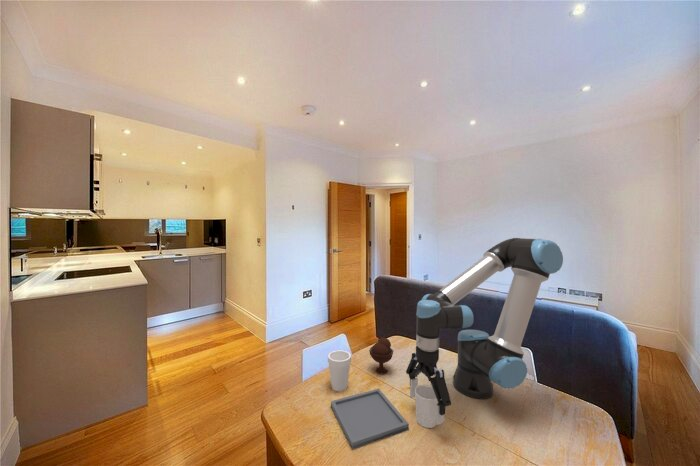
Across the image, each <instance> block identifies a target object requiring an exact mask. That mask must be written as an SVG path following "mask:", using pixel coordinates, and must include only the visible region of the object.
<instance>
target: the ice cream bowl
mask: <svg viewBox="0 0 700 466" xmlns="http://www.w3.org/2000/svg"><path fill="white" fill-rule="evenodd" d="M391 346H392V344H391V341H390V340H389V339H388V338H386V337H381V338H379V339H378V341H377V342H376V343H375V344H373V345H372V346H371V347H370V348H369V350H368V351H369V354H370V355H369V356H370V357H371V358H372V359H373V360H374V362H376V363H378V364H379V366H378V367H376V368H375V370H374V371H375V373H377V374H379V375H385V374H387V373H388V369H387V368H386V367H384V364H385V363H389V362H390V361H391V359H392V357H393V354H394V350H393V349H392V348H391Z"/></svg>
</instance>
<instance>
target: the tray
mask: <svg viewBox="0 0 700 466" xmlns="http://www.w3.org/2000/svg"><path fill="white" fill-rule="evenodd" d="M330 408H331V409H332V412H333V413H334V416H335V418H336V419H337V422H338V423H339V426H340V427H341V430H342V432H343V434H344V436H345V438H346V440H347V442H348V444H349V446H350V448H351V450H355V449H358V448H360V447H363V446H367V445H369V444H372V443H375V442H378V441H380V440H383V439H386V438H388V437H392V436H395V435H397V434H401V433H403V432H406V431H409V428H410V426H409V425H410V424H409V422H408V421H407V420H406V418H405V417H404V416H403V415H402V414H401V413H400V412H399V410H397V408H396V407H395V406H394V405H393V404H392V402H391V401H390V399H388V397H387V396H386V395H385V394H384V393H383V391H382V390H381V389H380V388H375V389H372V390H368V391H365V392H361V393H356V394H354V395H350V396H345V397H341V398H338V399H334V400H331V401H330Z"/></svg>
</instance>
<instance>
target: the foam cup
mask: <svg viewBox="0 0 700 466" xmlns="http://www.w3.org/2000/svg"><path fill="white" fill-rule="evenodd" d="M327 355H328V356H327V362H328V369H329V374H330V375H329V376H330V386H331V389H332V390H333V391H334V392H344V391H345V390H347V388H348V383H349V376H350V375H349V374H350V369H351V368H350V366H351V362H352V355H351V353H350V352H349V351H346V350H341V349H339V350H333V351H331V352H329V353H328V354H327Z"/></svg>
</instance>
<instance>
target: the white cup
mask: <svg viewBox="0 0 700 466" xmlns="http://www.w3.org/2000/svg"><path fill="white" fill-rule="evenodd" d="M414 400H415V401H414V402H415V403H414V404H415V405H414V406H415V415H416V418H415V419H416V422H417V424H419V425H420V426H421V427H423V428H427V429H433V428H434V427H436V426H437V424H436V403H437V402H438V401H437V398H436V395H435V393H434V390H433V387H432V385H431V386H430V385H426V384H421V385H418V386H417V387H416V388H415V397H414Z"/></svg>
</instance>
